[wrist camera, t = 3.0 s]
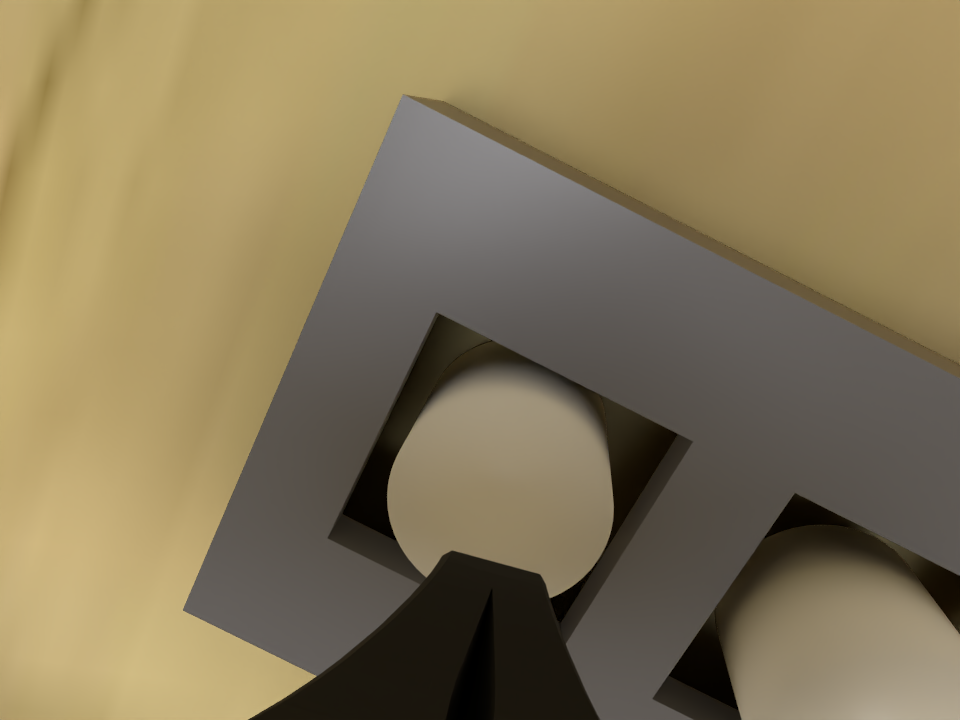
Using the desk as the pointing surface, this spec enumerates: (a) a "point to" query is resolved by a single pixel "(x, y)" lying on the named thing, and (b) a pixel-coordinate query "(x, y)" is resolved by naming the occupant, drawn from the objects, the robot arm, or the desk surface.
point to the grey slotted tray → (597, 366)
